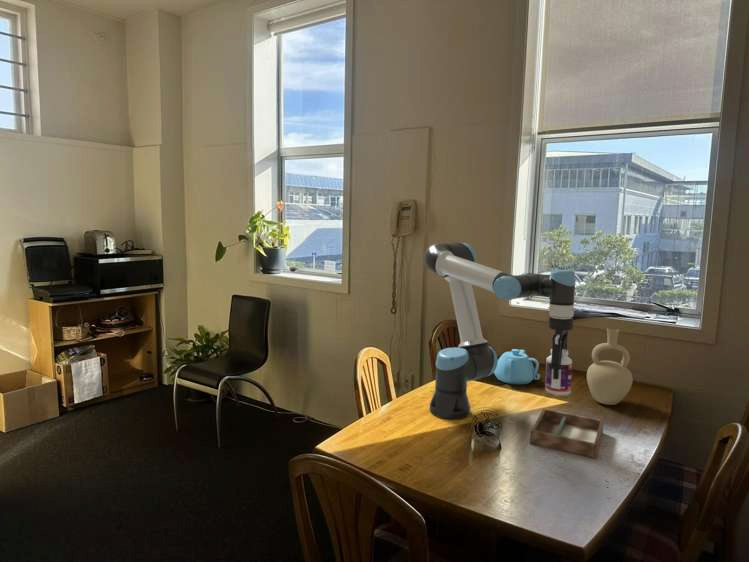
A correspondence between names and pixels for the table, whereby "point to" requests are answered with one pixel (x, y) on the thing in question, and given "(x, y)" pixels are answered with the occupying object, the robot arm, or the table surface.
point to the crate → (568, 433)
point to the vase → (609, 373)
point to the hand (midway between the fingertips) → (558, 384)
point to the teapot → (516, 368)
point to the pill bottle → (565, 375)
